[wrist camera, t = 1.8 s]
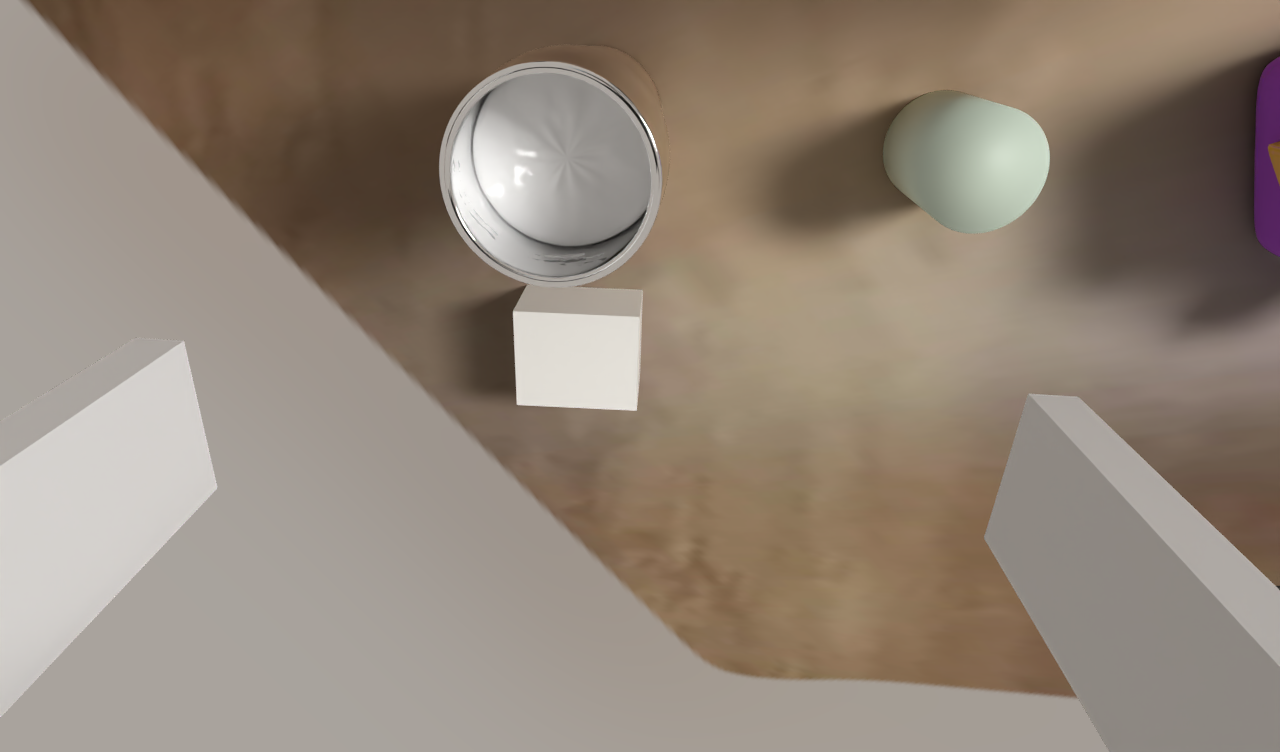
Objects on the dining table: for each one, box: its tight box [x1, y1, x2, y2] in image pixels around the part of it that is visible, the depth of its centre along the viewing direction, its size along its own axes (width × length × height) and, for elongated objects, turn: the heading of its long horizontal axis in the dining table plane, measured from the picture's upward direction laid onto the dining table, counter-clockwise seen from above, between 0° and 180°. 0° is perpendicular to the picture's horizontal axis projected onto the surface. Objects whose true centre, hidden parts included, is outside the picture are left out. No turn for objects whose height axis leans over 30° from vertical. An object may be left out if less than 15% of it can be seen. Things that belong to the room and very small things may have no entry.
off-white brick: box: [513, 285, 643, 411], centre depth 39 cm, size 6×5×4 cm
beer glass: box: [439, 45, 670, 288], centre depth 29 cm, size 7×7×15 cm
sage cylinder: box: [883, 90, 1050, 233], centre depth 33 cm, size 5×5×6 cm
